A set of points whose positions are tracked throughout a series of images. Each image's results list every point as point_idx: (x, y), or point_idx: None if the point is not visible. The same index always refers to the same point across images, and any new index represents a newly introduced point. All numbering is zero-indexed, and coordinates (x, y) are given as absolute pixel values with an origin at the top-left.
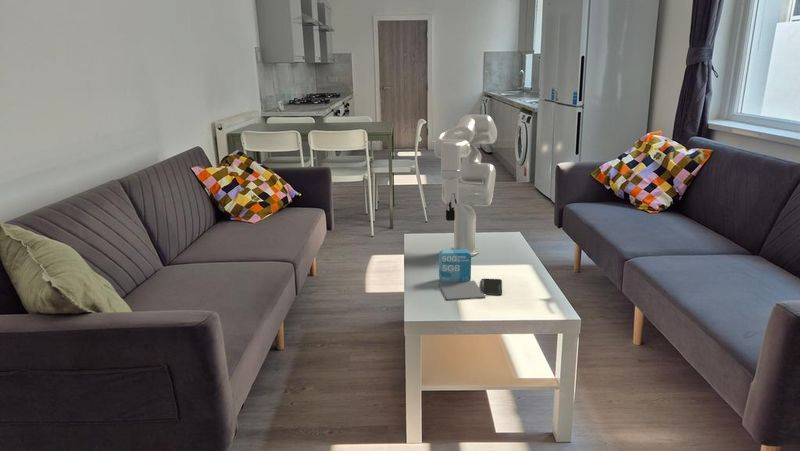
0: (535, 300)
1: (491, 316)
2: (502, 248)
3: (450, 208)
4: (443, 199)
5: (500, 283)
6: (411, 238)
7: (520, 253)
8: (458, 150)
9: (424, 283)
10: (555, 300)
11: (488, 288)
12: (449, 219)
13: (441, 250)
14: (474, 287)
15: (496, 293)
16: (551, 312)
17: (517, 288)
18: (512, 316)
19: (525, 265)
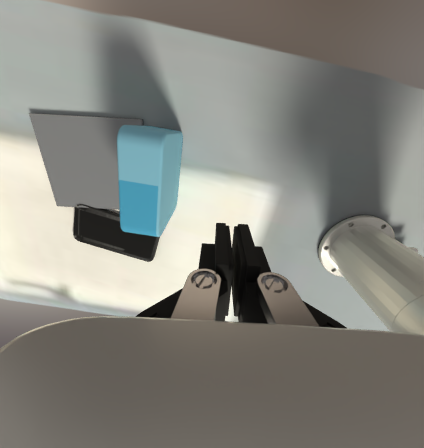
0: (59, 278)
1: None
2: (338, 318)
3: (151, 310)
4: (266, 381)
5: (131, 254)
6: None
7: None
8: None
9: (152, 77)
10: (63, 302)
11: (103, 225)
12: (215, 241)
13: (159, 142)
14: (108, 199)
15: (74, 230)
16: (12, 281)
17: (114, 272)
18: None
19: (228, 319)
